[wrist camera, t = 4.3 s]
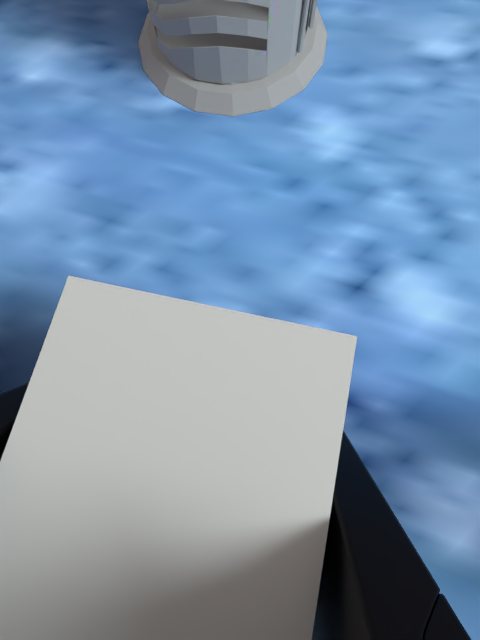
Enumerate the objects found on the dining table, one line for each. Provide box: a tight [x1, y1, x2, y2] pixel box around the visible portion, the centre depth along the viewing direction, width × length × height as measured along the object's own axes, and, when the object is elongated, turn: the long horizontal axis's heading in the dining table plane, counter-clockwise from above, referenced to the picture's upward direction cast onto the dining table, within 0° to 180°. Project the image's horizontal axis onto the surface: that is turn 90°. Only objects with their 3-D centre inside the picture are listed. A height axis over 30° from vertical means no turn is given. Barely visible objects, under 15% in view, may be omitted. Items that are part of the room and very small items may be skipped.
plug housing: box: [0, 276, 357, 640], centre depth 10 cm, size 6×5×9 cm
